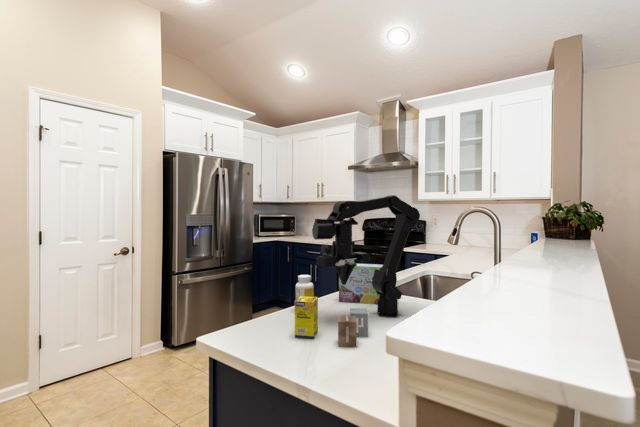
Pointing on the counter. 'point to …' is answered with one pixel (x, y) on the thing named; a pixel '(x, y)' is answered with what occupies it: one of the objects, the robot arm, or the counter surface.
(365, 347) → the counter surface
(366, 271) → the snack box
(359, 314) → the slate block
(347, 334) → the walnut block
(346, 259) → the robot arm
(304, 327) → the supplement box
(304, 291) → the supplement bottle
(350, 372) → the counter surface
